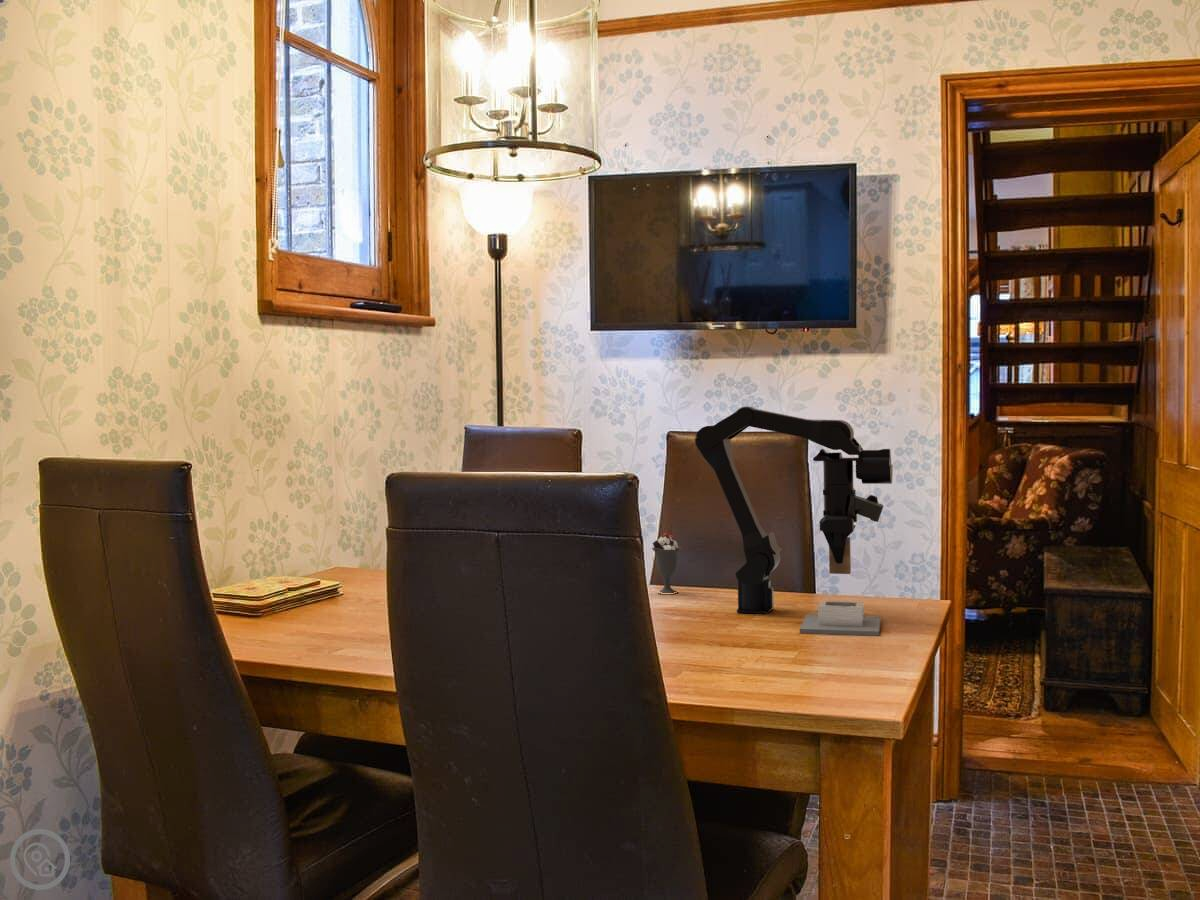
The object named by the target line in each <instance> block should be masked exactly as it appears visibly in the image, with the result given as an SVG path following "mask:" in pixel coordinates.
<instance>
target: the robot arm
mask: <svg viewBox="0 0 1200 900" xmlns="http://www.w3.org/2000/svg"><path fill="white" fill-rule="evenodd" d="M749 427H751V428H756V429H760V430H764V431H765V430H766V431H769V432H775V433H780V434H785V435H789V436H794V437H799V438H803V439H805V440H808V441H810V442H812V443H815V444H817V445H819V446H822V447H825V448H827V449H829V450H833V451H838V450H841V451H842V452H844V453H845V454H846V455H849V456H858V457H843V453H842V452H841V451H840V452H827V451H826V450H825V449H824V448H821V449H819V452H818V453H817V454H816V455H815V456H814V457H813V459H812V460H813V461H814V462H823V464H822V465H823V489H822V496H823V505H824V506H823V513H822V514H823V517H821V519H819V531H820V532H822V533H823V535H824V538H825V539H826V542H827V545H828V548H829V547H830V549H831V551H832V554H833V556H834V559H835V561H836V563H837V564H842V562H843V556H844V550H845V544H846V538H847V537H850V535H851V534H852V533H853V532H855V528H856V524H855V523H857V522H858V516H861V517H865V518H868V519H869V520H870V521H872V522H875V523H878V522H879V520H880V517H881V515H882V512H883V509H884V504H882V503H879V500H878V497H877V496H875V495H872V494H869V495H868V496H867V497H866V498H865V497H863V496H862V497H861V496H858V495H857V494H856V493H857V492H856V489H855V488H854V462H855V478H856V479H858V480H861V484H863V485H866V484H867V485H869V484H870V485H872V484H873V485H877V484H879V485H880V484H881V485H886V484H890V485H891V484H893V476H894V475H893V468H894V467H893V464H892V457H891V456H892V455H891V449H890V448H881V449H865V450H864V448H863V447H862V445H861V444H860V443H859V442H858V440H857V439H856V438H855V436H854V435H855V433H854V428H853V427H852V425H851V424H850V423H849V422H847V421H845V420H844V419H843V420H842V419H811V418H809V419H807V418H803V417H799V416H792V415H788V414H783V413H777V412H773V411H767V410H763V409H758V408H755V407H752V406H741V407H739V408H738V409H737V410H736V411H734V412H733V413H732V414H730V415H729V416H727V417H725V418H723V419H722V420H720V421H717V423H715V424H712V425H707V426H703V427H701V428H699V429H698V431H697V432H696V435H695V438H694V443H695V446H696V448H697V450H698V451H699V453H700V454H701V456H702V457H703V459H704V461H705V462H706V463H707V465H709V466H710V468H711V469H712V470H713V472H714V473H715V476H716V478H717V479H718V482H719V485H720V487H721V490H722V492H723V494H724V496H725V499H726V501H727V504H728V506H729V508H730V510H731V514H732V516H733V518H734V520H735V522H736V525H737V528H738V529H739V531H740V534H741V540H742V550H743V554H744V558H745V564H743V565H742V566H741V567H740V568H739V569H738V570H737V571H736V572H735V577H736V580H737V606H738V607H737V609H736V613H739V614H740V613H741V614H742V613H747V614H749V613H750V614H769V613H770V612H771V610H773V608H774V607H775V605H774V603H775V602H774V587H773V586H771V579H770V576H771V574H772V572H773V571H774V570H775V569H777V567H778V566H779V564H780V561H781V554H780V551H782V550H783V549H782V548H781V547H780V546H779V545H778V542H777V539H776V535H775V533H774V531H771V532H770V533H767V532H766V531H765V530H764V528H762V526H761V524H760V521H759V519H758V517H757V515H756V513H755V509H754V508H753V505H752V503H751V501H750V498H749V495H748V494H747V492H746V489H745V487H744V484H743V482H742V479H741V477H740V475H739V472H738V470H737V467H736V465H735V462H734V461H735V460H734V453H733V445H732V442H731V441H732V439H734V438H735V437H736V436H739V435H740V434H741V433H742V432H743V431H745V430H746V429H748V428H749Z"/></svg>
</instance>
